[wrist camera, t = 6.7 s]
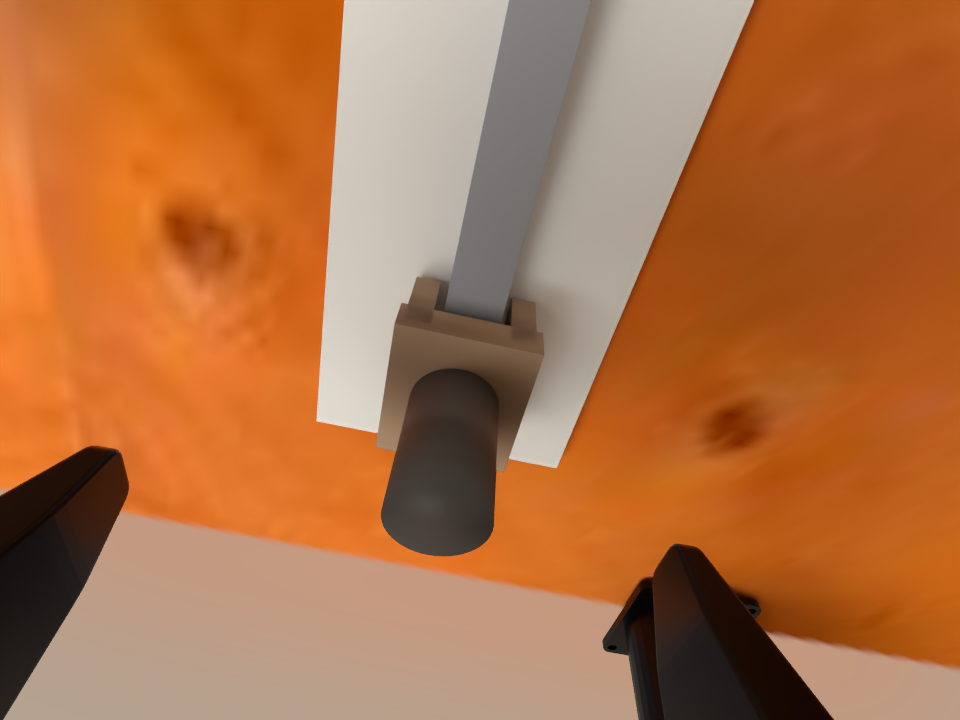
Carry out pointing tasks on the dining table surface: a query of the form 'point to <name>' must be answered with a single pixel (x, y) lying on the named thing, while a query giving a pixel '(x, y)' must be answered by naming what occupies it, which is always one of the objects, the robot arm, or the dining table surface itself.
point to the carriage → (452, 418)
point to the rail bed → (573, 199)
